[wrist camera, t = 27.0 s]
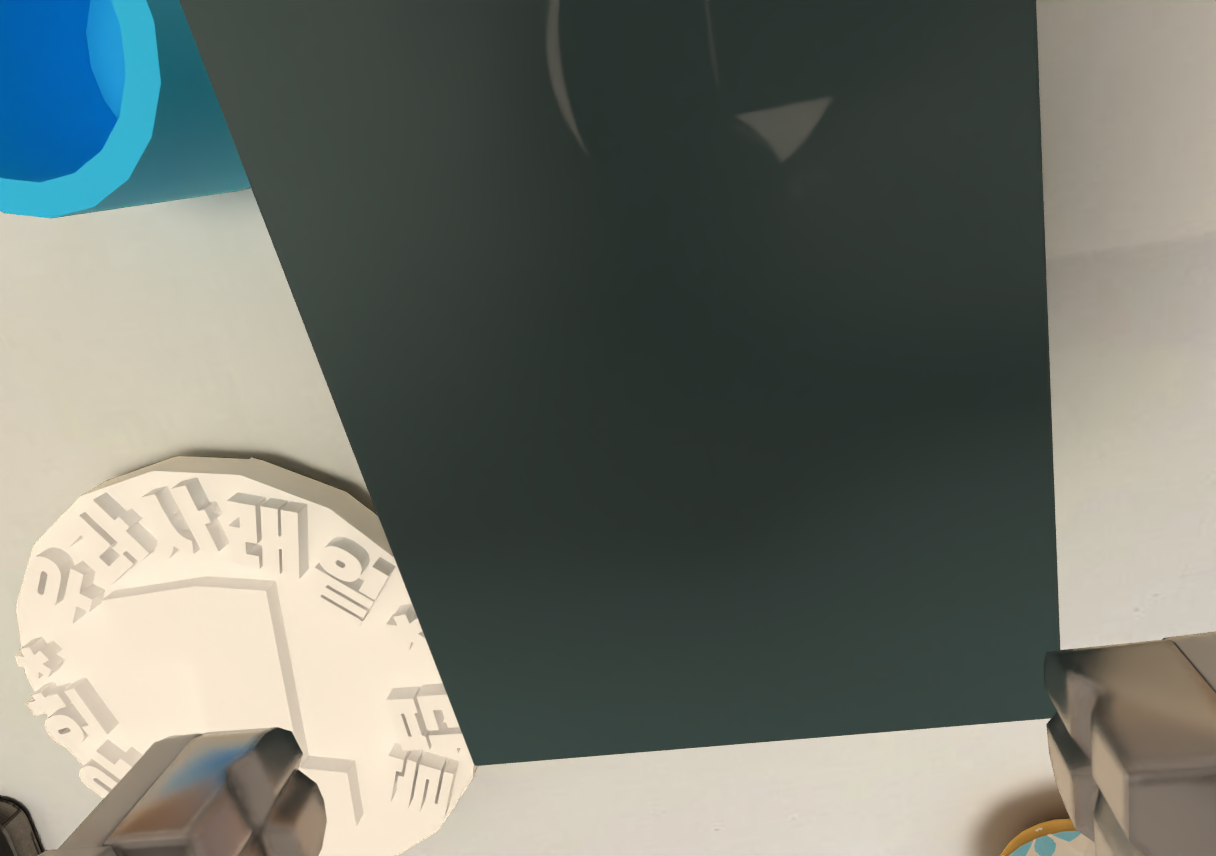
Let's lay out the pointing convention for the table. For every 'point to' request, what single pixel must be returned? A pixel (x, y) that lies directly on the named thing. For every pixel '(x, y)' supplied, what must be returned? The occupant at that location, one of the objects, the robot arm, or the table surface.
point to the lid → (677, 348)
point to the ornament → (1050, 841)
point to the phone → (16, 832)
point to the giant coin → (243, 640)
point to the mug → (106, 109)
